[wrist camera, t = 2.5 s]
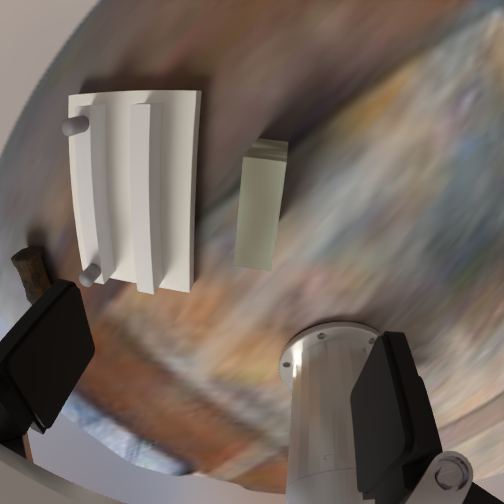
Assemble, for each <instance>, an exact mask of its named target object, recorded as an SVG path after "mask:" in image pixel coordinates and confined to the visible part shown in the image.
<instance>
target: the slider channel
mask: <svg viewBox="0 0 504 504" xmlns="http://www.w3.org/2000/svg"><path fill="white" fill-rule="evenodd" d="M201 94H202V91H191V90H139V91H116V92H100V93H88V94H78V95H69V118H68V119H66V120H65V121H64V122H63V125H62V130H63V133H64V134H65V135H66V136H69V153H70V171H71V184H72V195H73V205H74V214H75V222H76V230H77V237H78V243H79V250H80V256H81V262H82V267H83V272H82V273H81V274H80V275H79V280H80V282H81V284H82V285H84V286H86V287H90V286H91V285H92V284H93V283H94V282H96V283H101V284H105V282H106V281H107V280H108V279H109V278H113V279H119V280H124V281H129V282H134V283H137V289H138V291H140V292H145V293H150V294H154V293H155V292H156V290H157V289H158V287H161V288H166V289H172V290H177V291H183V292H189V293H190V291H191V289H192V286H193V284H194V225H195V194H196V171H197V152H198V135H199V120H200V106H201Z"/></svg>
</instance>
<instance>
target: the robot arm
mask: <svg viewBox="0 0 504 504" xmlns="http://www.w3.org/2000/svg"><path fill="white" fill-rule="evenodd" d="M94 352H95V346H94V342H93V339H92V335H91V332H90V328H89V324H88V321H87V317H86V313H85V309H84V305H83V301H82V297H81V292H80V289H79V288H77V286H76V284H75V283H74V282H71V281H67V280H63V279H58V280H57V281H55V282H54V283H53V284H52V285H51V286H50V287H49V289H48V290H47V291H46V292H45V293H44V294H43V295H42V296H41V297H40V298H39V299H38V300H37V301H36V302H35V303H34V304H33V305H32V306H31V307H30V309H29V310H28V311H27V312H26V313H25V314H24V315H23V316H22V317H21V318H20V320H19V321H18V322H17V323H16V324H15V325H14V326H13V327H12V329H11V330H10V331H9V332H8V333H7V334H6V336H5V337H4V338H3V339H2V340H1V341H0V504H125V503H122V502H120V501H117V500H114V499H111V498H108V497H106V496H103V495H101V494H98V493H96V492H93V491H91V490H88V489H86V488H84V487H81V486H79V485H77V484H74V483H72V482H70V481H68V480H66V479H64V478H61V477H59V476H57V475H55V474H53V473H51V472H49V471H47V470H45V469H43V468H41V467H39V466H38V465H36V464H34V463H33V458H32V454H31V449H30V444H29V440H28V434H27V431H28V429H29V427H31V428H32V429H33V430H35V431H37V432H39V433H41V434H44V433H45V431H46V429H48V428H50V427H51V426H52V425H53V423H54V421H55V419H56V418H57V416H58V414H59V412H60V411H61V409H62V407H63V406H64V404H65V402H66V400H67V399H68V397H69V395H70V394H71V392H72V390H73V388H74V387H75V385H76V383H77V382H78V380H79V378H80V377H81V375H82V373H83V372H84V370H85V369H86V367H87V365H88V364H89V362H90V360H91V359H92V357H93V355H94ZM279 374H280V377H281V380H282V382H283V383H284V385H285V386H286V387H287V388H288V389H289V390H290V391H292V404H291V424H290V441H289V457H288V471H287V484H286V497H285V504H504V503H503V502H502V501H500V500H499V499H497V498H496V497H494V496H493V495H491V494H490V493H488V492H487V491H485V490H484V489H482V488H481V487H479V486H478V485H477V484H475V483H474V482H472V480H473V469H472V466H471V464H470V462H469V461H468V459H467V458H466V457H464V456H463V455H462V454H460V453H458V452H455V451H446V452H443V450H442V446H441V442H440V438H439V434H438V430H437V427H436V423H435V419H434V416H433V412H432V408H431V405H430V402H429V398H428V395H427V391H426V388H425V385H424V382H423V380H422V378H421V377H420V376H419V375H418V372H417V369H416V366H415V363H414V360H413V357H412V354H411V351H410V348H409V345H408V342H407V339H406V337H405V335H404V333H402V332H389V331H386V332H384V333H383V335H381V334H380V333H378V332H377V331H376V330H374V329H372V328H370V327H368V326H366V325H363V324H359V323H354V322H331V323H325V324H321V325H318V326H315V327H311V328H309V329H307V330H305V331H303V332H301V333H300V334H298V335H297V336H296V337H294V338H293V339H292V340H291V341H290V342H289V343H288V344H287V345H286V346H285V348H284V350H283V351H282V354H281V357H280V361H279Z"/></svg>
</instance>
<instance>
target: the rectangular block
mask: <svg viewBox="0 0 504 504" xmlns="http://www.w3.org/2000/svg"><path fill="white" fill-rule="evenodd" d="M287 151H288V142H285V141H277V140H270V139H261V138H258V139H257V140H256V141H255V142H254V144H253V145H252V146H251V148H250V149H249V150H248V151H247V153H246V154H245V155H244V157H243V166H242V177H241V188H240V199H239V210H238V222H237V233H236V245H235V257H234V266H239V267H246V268H252V269H259V270H266V271H271V269H272V263H273V256H274V249H275V242H276V235H277V228H278V221H279V214H280V207H281V200H282V193H283V185H284V178H285V170H286V163H287Z"/></svg>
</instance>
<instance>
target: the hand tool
mask: <svg viewBox="0 0 504 504" xmlns="http://www.w3.org/2000/svg"><path fill="white" fill-rule="evenodd" d="M42 252H43V247H37V246H31V247H27V248H25V249H22V250H20V251H19V252H18V253H16V254H15V255H14V256H12V258H11V260H12V263H13V265H14V266H15V267H16V268H17V270H18V272H19V275H20V276H21V280H22V283H23V286H24V288H25V292H26V296H27V300H28V301H29V302H30V303H31V304H32V305H33V304H34V303H35V302H36V301H37V300H38V299H39V298H40V297H41V296H42V295H43V294H44V293H45V292H46V291H47V290H48V289H49V287H50V286H51V283H50V281H49V278H48V275H47V272H46V269H45V266H44V264H43V261H42V257H41V255H42Z"/></svg>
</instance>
